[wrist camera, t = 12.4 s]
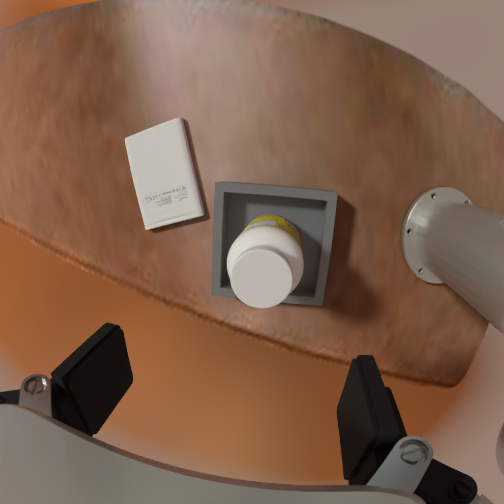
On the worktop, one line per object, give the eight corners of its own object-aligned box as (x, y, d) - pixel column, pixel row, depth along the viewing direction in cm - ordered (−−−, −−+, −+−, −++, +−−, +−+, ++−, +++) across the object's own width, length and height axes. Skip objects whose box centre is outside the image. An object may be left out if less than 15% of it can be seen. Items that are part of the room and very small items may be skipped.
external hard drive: (184, 118, 32) (206, 214, 35) (129, 139, 33) (150, 228, 36) (179, 116, 30) (202, 216, 33) (123, 138, 32) (144, 230, 34)
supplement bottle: (303, 264, 33) (310, 315, 21) (248, 271, 34) (227, 324, 22) (295, 208, 32) (299, 230, 19) (238, 217, 33) (208, 244, 21)
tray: (333, 190, 31) (337, 192, 28) (319, 295, 35) (322, 306, 32) (221, 181, 33) (215, 182, 30) (217, 285, 36) (211, 294, 33)
